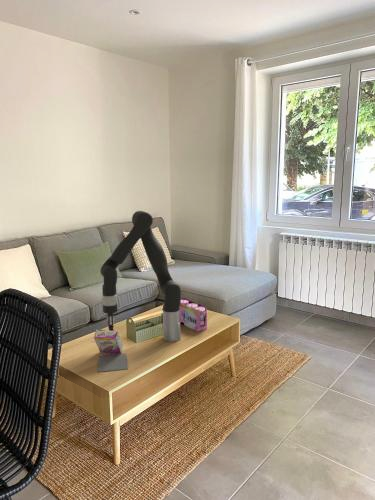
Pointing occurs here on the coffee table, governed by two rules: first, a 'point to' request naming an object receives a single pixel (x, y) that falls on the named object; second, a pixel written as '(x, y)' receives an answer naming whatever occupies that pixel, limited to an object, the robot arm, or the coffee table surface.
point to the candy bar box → (108, 341)
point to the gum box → (193, 315)
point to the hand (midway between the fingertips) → (111, 334)
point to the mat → (112, 362)
